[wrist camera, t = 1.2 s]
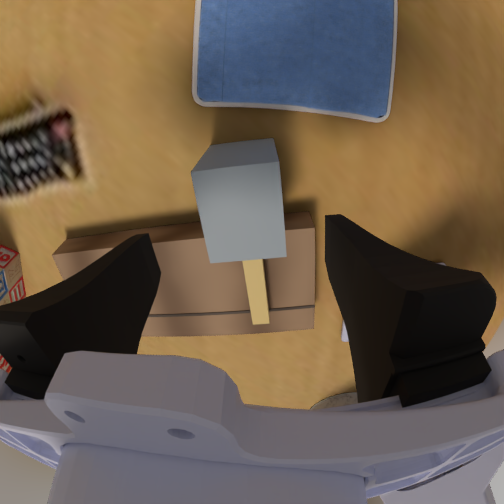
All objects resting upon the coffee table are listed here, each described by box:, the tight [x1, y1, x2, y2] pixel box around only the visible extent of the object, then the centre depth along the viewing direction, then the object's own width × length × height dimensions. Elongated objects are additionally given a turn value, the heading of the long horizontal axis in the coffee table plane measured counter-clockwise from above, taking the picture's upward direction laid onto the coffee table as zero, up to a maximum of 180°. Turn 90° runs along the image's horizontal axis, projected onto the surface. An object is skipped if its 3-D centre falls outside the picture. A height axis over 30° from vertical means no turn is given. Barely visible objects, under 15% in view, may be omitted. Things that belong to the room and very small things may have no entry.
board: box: [52, 211, 315, 336], centre depth 23 cm, size 20×9×3 cm, turn 97°
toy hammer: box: [191, 138, 287, 325], centre depth 19 cm, size 4×12×6 cm, turn 7°
